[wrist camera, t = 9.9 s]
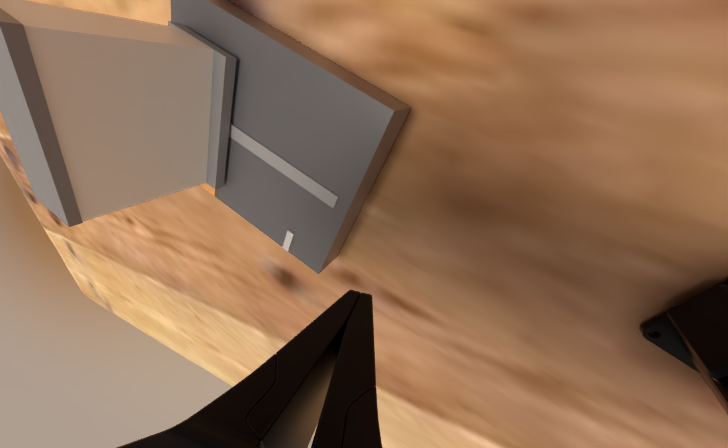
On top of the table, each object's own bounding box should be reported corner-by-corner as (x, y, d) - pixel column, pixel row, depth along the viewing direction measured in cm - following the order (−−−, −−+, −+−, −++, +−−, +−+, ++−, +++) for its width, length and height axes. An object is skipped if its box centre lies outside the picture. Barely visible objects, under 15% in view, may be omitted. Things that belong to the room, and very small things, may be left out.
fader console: (411, 107, 17) (392, 111, 14) (337, 255, 25) (317, 275, 22) (212, -8, 19) (166, -23, 17) (204, 159, 27) (172, 166, 25)
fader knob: (236, 57, 17) (14, 33, 9) (223, 186, 23) (79, 236, 15) (180, 22, 18) (-66, -26, 10) (181, 156, 24) (25, 188, 16)
